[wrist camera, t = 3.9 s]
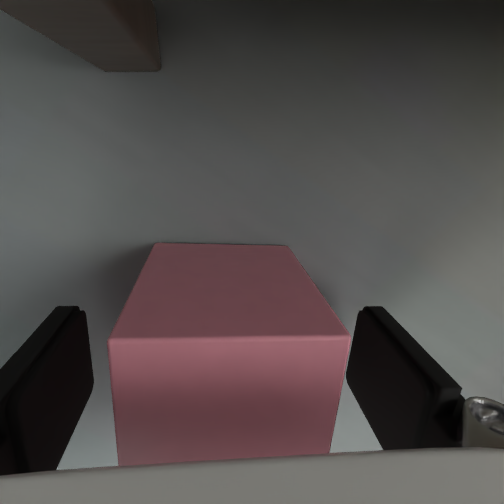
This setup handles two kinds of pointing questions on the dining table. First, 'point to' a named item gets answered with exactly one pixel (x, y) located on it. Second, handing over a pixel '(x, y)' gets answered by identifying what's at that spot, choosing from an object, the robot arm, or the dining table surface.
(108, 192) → the dining table surface
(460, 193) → the dining table surface
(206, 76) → the dining table surface
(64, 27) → the rack
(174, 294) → the pink box
